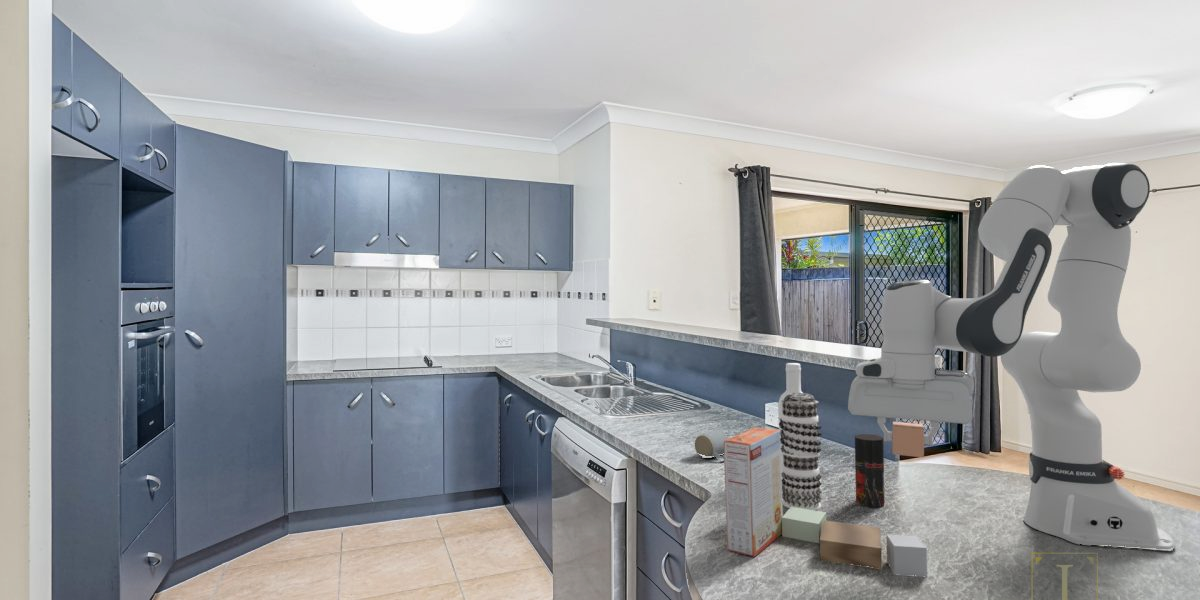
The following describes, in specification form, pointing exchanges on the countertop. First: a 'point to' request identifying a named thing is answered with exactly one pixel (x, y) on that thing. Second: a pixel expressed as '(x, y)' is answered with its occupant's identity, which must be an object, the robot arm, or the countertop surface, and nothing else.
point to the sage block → (803, 524)
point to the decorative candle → (800, 452)
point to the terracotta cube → (908, 439)
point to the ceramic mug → (711, 443)
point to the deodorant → (869, 470)
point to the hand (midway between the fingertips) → (907, 443)
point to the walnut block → (851, 544)
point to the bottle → (790, 391)
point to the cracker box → (753, 490)
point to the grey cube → (906, 555)
